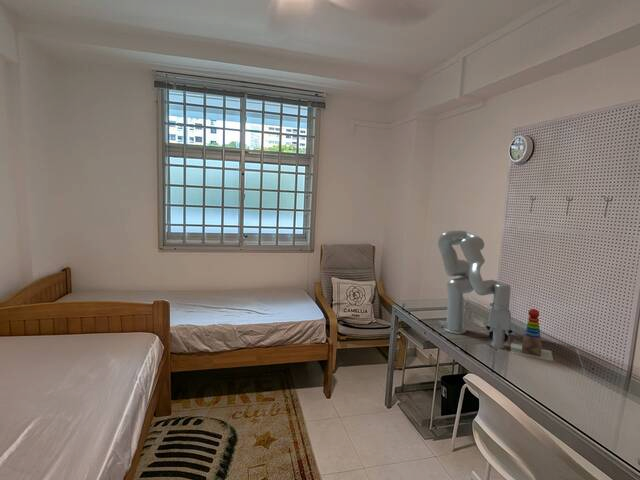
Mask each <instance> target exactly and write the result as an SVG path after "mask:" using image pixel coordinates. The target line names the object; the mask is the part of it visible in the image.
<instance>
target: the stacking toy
mask: <svg viewBox="0 0 640 480" xmlns="http://www.w3.org/2000/svg"><path fill="white" fill-rule="evenodd" d="M528 315H529V317H528V318H527V323H526V328H525V329H526V330H525V334H524V336H525V337H531V338H536V339H541V338H542V337H541V330H540V327H541V326H540V322H539V321H540V318H539V316H540V311H539V310H538V309H535V308H530V309H529V310H528ZM541 340H542V339H541Z"/></svg>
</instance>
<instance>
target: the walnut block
mask: <svg viewBox="0 0 640 480" xmlns="http://www.w3.org/2000/svg"><path fill="white" fill-rule="evenodd" d="M521 343H522V344H521V345H522V353H526V354H530V355H535V356H540V357H541V349H543V348H542V347H543V346H542V345H543V343H542V339H536V338H531V337H525V335H523V336H522V342H521Z"/></svg>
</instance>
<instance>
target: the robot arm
mask: <svg viewBox="0 0 640 480" xmlns="http://www.w3.org/2000/svg"><path fill="white" fill-rule="evenodd" d="M437 245H438V249H439V252H440V255H441V258H442V262H443V266H444V270H445V273H446V275H447V276H448V277H455V278H452V279H449V281H448V282H447V284H446V292H447V294H446V295H447V309H446V310H447V311H446V320H438V324H439V325H441V326H443V330H444V331H445V332H448V333H451V334H456V335H461V334H465V333H466V332H467V329H466V328H465V327H464V321H465V320H464V319H465V308H466V307H465V304H466V303H465V302H466V301H465V298H464V295H465V294H469V293H472V292H473V291H474V292H475V293H476V294H477V295H479V296H487V295H493V296H492V297H493V298H492V302H491V303H489V306H490V307H491V308H490V310H489V317H488V319H487V320H485V321H483V322H482V325H483V326H484V327H486V329H487V331H488V332H489V338H490V340H492V334H493V328H497V325H501V329H502V330H505V343H507V341H509V335H511V334H512V333H514V332H516V330H517V328H516V326H515V325H514V324H513V323H512V320H511V319H512V316H511V315H512V312H511V310H510V301H511V300H510V299H511V288H512V287H511V285H510V284H508V283H503V282H499V281H497V280H494V279H489V280H483V278H482V276H481V268H482V266H483V265H484V263H485V261H486V259H485V257H484V256H483V254H482V252H481V251H482V250H484V248H485V242H484V240H483V238H481V237H480V236H478V235H476V234H474V233H471V232H468V231H466V230H448V231H444V232H443V233H441V234H440V235H439V237H438V241H437ZM458 245H459V246H460V249H461V251H462V253H463V255H464V258H465V259H466V260H464V259H458V254H457V251H456V250H455V248H454V247H453V246H458ZM456 277H457V278H456Z"/></svg>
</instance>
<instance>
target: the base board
mask: <svg viewBox="0 0 640 480" xmlns="http://www.w3.org/2000/svg"><path fill="white" fill-rule="evenodd" d="M510 353H511V354H517V355H521V356H525V357H531V358H536V359H540V360H546V361H551V362H554V358H553V352H552V350H548V349H543V348H541V357H540V356H535V355H530V354H526V353H522V344H518V343H513V342H511V344H510Z"/></svg>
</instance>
